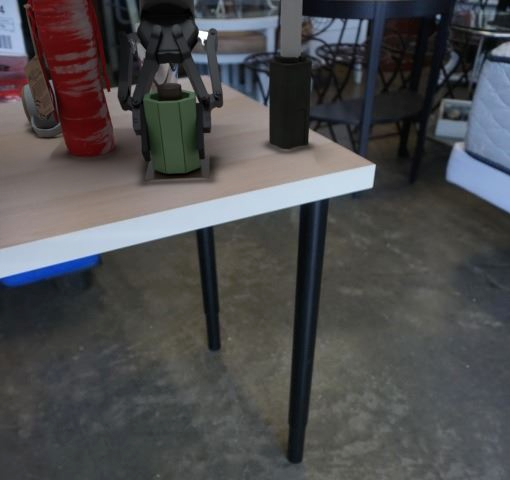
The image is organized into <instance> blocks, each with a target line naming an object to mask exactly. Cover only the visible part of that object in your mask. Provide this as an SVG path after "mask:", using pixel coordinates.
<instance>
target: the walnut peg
mask: <svg viewBox="0 0 510 480" xmlns="http://www.w3.org/2000/svg"><path fill="white" fill-rule="evenodd" d="M182 90H183V88H182V84H181V83H164V84H160V85H158V86H157V92H158V100H159V101H178V100H181V99H183V98H182ZM210 158H211V157H210V155H205V159H201V167H200V168H198V169H195V170H193V171H190V172H187V173H186V172H185V173H173V174H167V173H166V174H165V173H162V172H159V171H157V170H154V169H153V166H152V159H151V161H148V163H147V164H148V165H147V168H146V172H145V176H144V181H162V180H165V181H166V180H186V179H208V178H210V161H211V160H210Z"/></svg>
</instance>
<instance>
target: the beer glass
mask: <svg viewBox="0 0 510 480" xmlns="http://www.w3.org/2000/svg"><path fill="white" fill-rule="evenodd" d="M139 24H140V21H139V22H136V23H135V24H134V26H135V32H137V28H138V27H139ZM136 51H137V56H138V62H139V66H140V70H141V69H142V66H143V63H144V60H145V52H146V50H145V49H144V47H143V46H142V45H141V44H140V43H139V44H137V46H136ZM178 80H179V64H176V63H171V62H170V63H166V64H160V66H159V69H158V72H156V75H155V78H154V81H153V84H152V87H151V90H150V93H151V92H155V91H157V86H158V85H160V84H164V83H178V82H179V81H178ZM178 84H179V83H178Z"/></svg>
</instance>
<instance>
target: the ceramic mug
mask: <svg viewBox="0 0 510 480" xmlns="http://www.w3.org/2000/svg"><path fill="white" fill-rule="evenodd" d="M48 80H49V82H50V84H51V87H52V90H53V93H54V95H55V91H54V87H53V83H52V79H48ZM50 92H51V91H50ZM20 96H21V97H20V98H21V104H22V108H23V111H24V115H25V117H26V119H27V121H28V123H29V124H30V125H31V127H32V128H33V131H34V132H35V134H36V135H38V136H39V137H42V138H54V137H57V136H59V135H61V134H63V133H62V129H61V124H60V119H59V113H58V108H57V102H56V97H55V102H56V111H57V117H58V122H56V121H55V118H54V114H53V113H52V114H51V116H50V118H49V120H47V117H45V118H43V119H42V120H41V121H40V119H39V116H38V113H37V109H36V106H35V103H34V100H33V97H32V94H31V91H30V87H29V84H28V83H27V84H25V85H23V86H22V88H21V93H20ZM51 96H52V94H51ZM52 100H53V97H52Z"/></svg>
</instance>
